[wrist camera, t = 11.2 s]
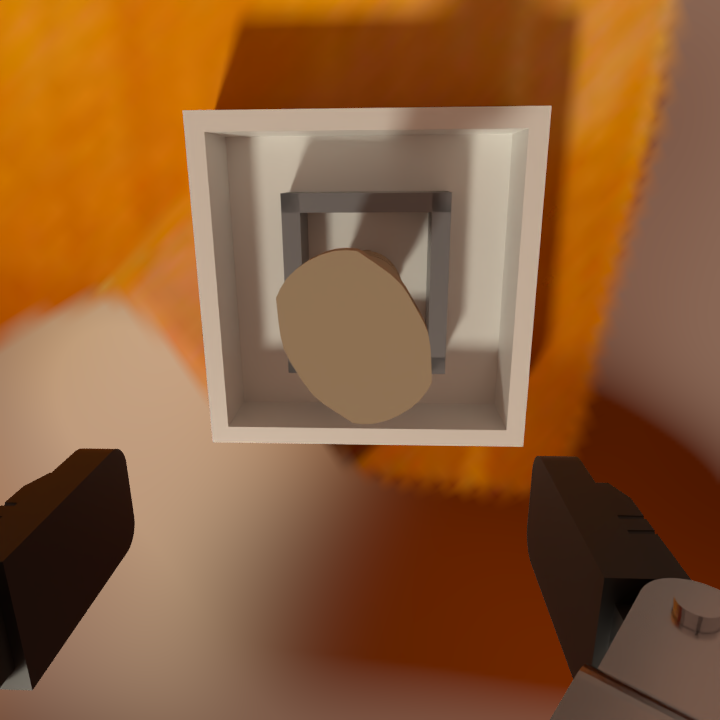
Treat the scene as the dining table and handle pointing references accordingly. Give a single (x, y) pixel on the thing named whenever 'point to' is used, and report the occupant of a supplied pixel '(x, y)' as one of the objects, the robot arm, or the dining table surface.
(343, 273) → the handle
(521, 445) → the box
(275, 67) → the dining table surface
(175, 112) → the dining table surface
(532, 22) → the dining table surface
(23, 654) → the robot arm
